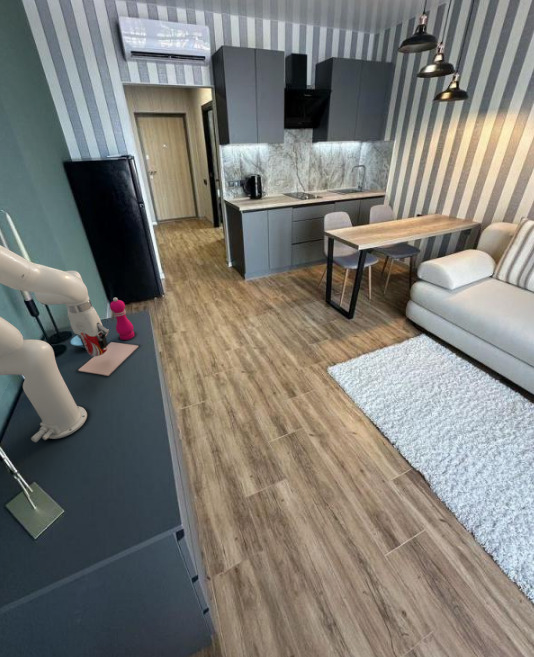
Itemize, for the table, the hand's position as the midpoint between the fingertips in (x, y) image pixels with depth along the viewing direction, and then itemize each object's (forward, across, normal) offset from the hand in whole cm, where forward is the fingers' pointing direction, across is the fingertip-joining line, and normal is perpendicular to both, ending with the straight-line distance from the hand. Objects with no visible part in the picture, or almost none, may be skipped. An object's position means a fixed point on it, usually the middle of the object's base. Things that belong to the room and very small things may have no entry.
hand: (95, 345), depth 118 cm
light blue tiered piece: (+10, -19, +13) cm, 25 cm away
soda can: (+3, 0, 0) cm, 3 cm away
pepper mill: (+10, -4, +21) cm, 24 cm away
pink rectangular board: (+10, -1, +5) cm, 11 cm away
